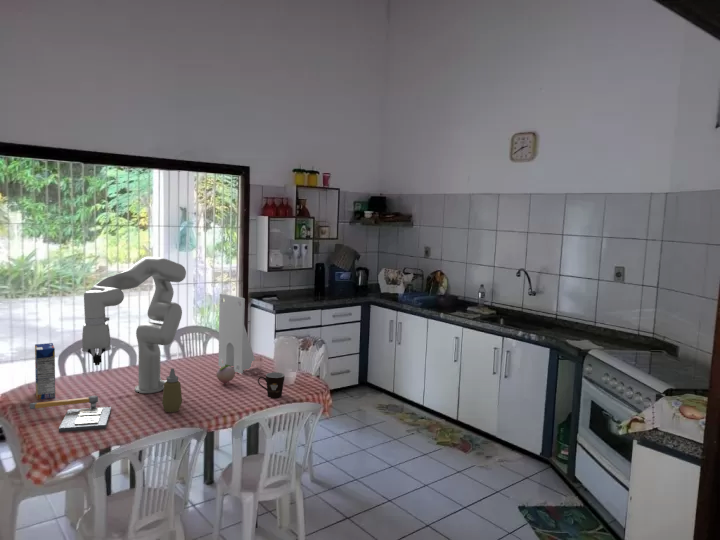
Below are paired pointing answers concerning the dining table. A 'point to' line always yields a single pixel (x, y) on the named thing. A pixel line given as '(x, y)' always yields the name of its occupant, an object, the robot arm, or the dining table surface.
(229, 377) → the decorative fruit
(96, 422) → the label base
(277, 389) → the coffee mug
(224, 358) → the white bracket plate
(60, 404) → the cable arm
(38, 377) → the beverage box
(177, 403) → the squeeze bottle
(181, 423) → the dining table surface
